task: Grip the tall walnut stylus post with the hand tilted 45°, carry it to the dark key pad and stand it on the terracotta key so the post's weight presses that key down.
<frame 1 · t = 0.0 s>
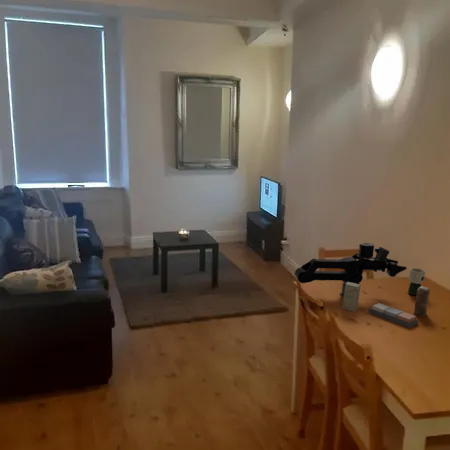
hand: (402, 265, 238), 17 cm above the table, tool horizontal, fingers open, 9 cm apart
terracotta key: (406, 317, 210), point 2 cm above the table, slide at 0.0 cm
character mug: (414, 294, 246), on the table
key pad: (392, 318, 215), on the table
walnut stylus post: (420, 314, 221), on the table
skincare box: (349, 309, 223), on the table
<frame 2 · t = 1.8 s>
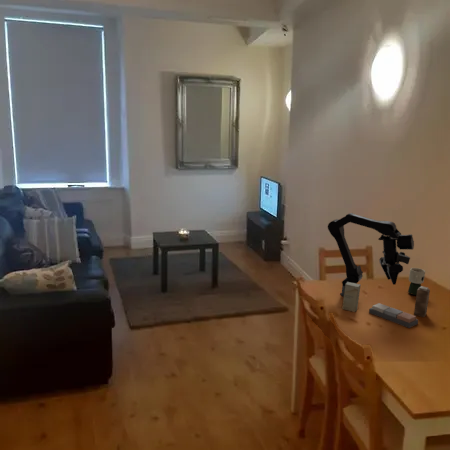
hand: (391, 281, 227), 12 cm above the table, tool pointing down, fingers open, 9 cm apart
nothing on the table moved.
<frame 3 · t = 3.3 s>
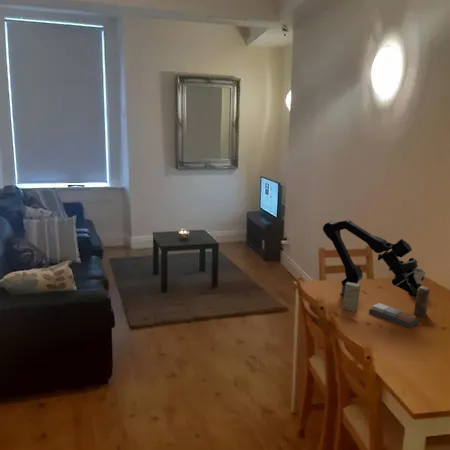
hand: (415, 291, 220), 10 cm above the table, tool tilted 45°, fingers open, 9 cm apart
nothing on the table moved.
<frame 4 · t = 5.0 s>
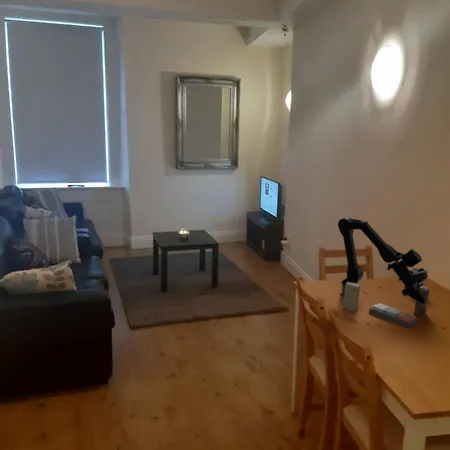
hand: (425, 301, 218), 7 cm above the table, tool tilted 45°, fingers closed on walnut stylus post, 4 cm apart
walnut stylus post: (420, 314, 221), on the table, touching gripper
everything else where it was.
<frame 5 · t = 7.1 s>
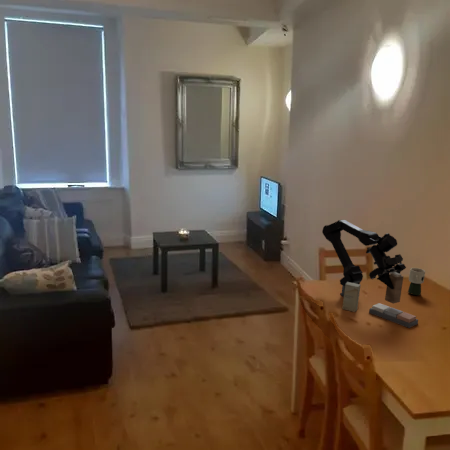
hand: (396, 288, 214), 13 cm above the table, tool tilted 45°, fingers closed on walnut stylus post, 4 cm apart
walnut stylus post: (392, 301, 217), point 7 cm above the table, touching gripper
everything else where it was.
when the fingers open (11 cm above the table, at t = 9.5 s): walnut stylus post drops 2 cm, resting on terracotta key.
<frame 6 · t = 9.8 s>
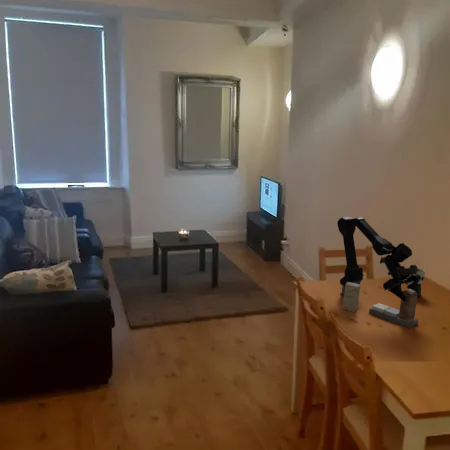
hand: (411, 299, 206), 11 cm above the table, tool tilted 45°, fingers open, 8 cm apart
terracotta key: (406, 320, 210), point 1 cm above the table, slide at 1.3 cm, touching walnut stylus post
walnut stylus post: (406, 318, 210), point 2 cm above the table, touching terracotta key
everything else where it was.
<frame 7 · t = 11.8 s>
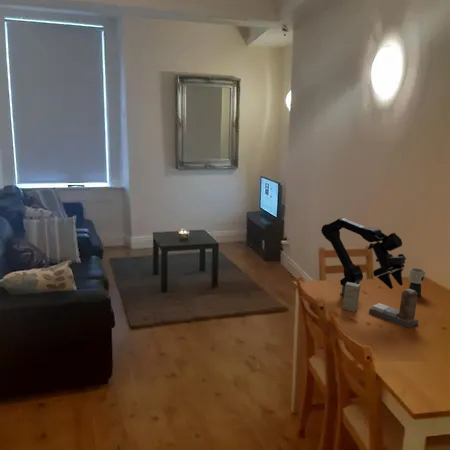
hand: (396, 286, 218), 13 cm above the table, tool tilted 35°, fingers open, 9 cm apart
nothing on the table moved.
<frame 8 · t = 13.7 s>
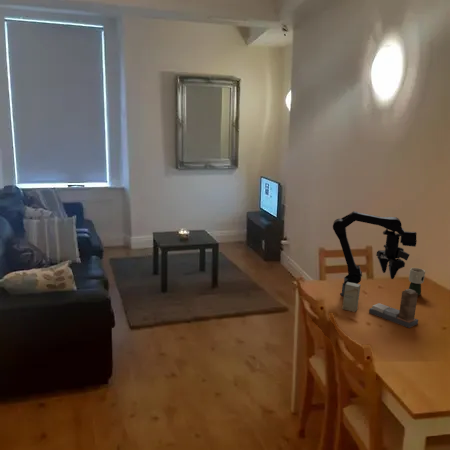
hand: (388, 275, 232), 13 cm above the table, tool pointing down, fingers open, 9 cm apart
nothing on the table moved.
at the end: walnut stylus post 0.1 cm from the target spot on the key pad, point 2.2 cm above the key pad's base; walnut stylus post tilted 0°; terracotta key slide at 1.3 cm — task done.
